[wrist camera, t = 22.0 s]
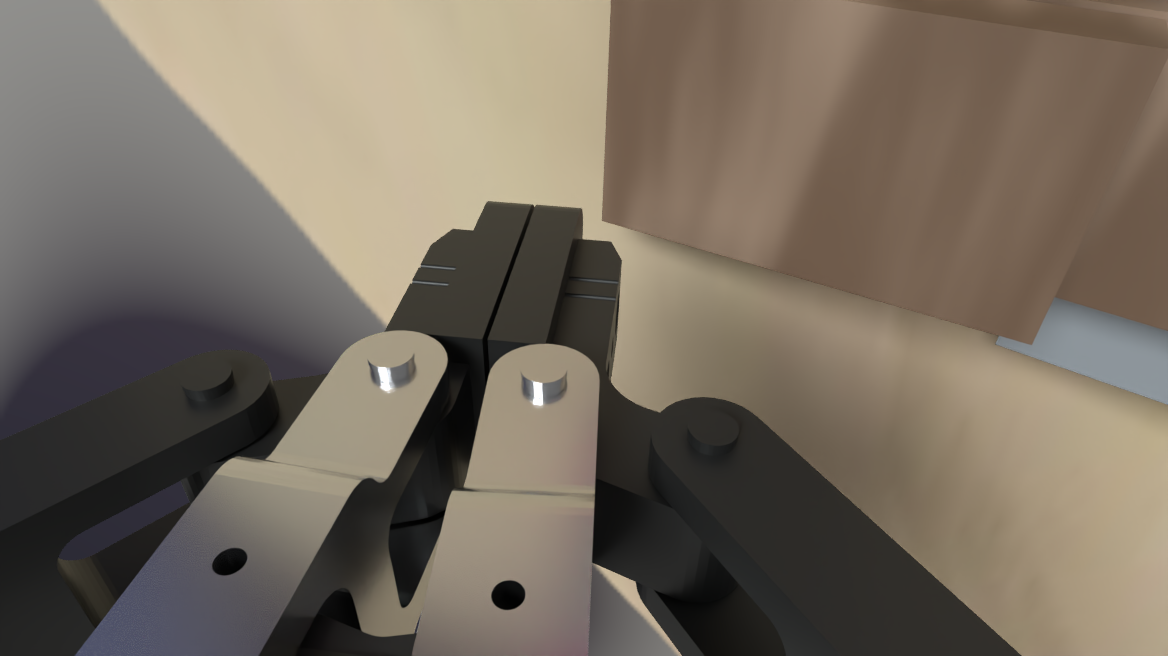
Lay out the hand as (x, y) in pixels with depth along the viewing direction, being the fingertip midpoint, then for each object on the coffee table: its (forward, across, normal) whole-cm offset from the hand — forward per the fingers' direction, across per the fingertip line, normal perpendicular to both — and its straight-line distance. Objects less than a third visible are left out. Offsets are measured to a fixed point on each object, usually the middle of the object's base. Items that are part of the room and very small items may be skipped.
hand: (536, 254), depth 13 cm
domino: (+8, -1, 0) cm, 8 cm away
